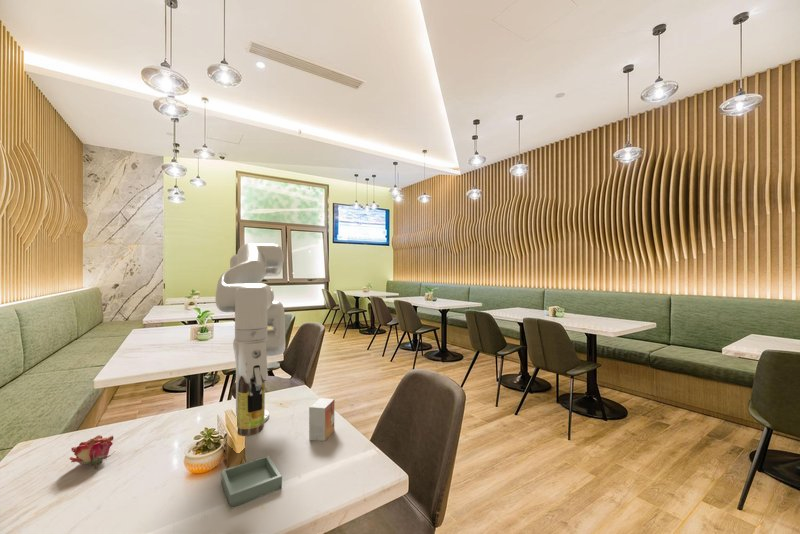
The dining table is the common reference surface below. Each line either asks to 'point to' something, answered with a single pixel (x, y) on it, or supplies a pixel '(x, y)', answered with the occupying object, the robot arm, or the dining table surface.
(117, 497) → the dining table surface
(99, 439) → the flower
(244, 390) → the sauce bottle
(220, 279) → the robot arm
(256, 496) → the tray
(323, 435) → the small box
